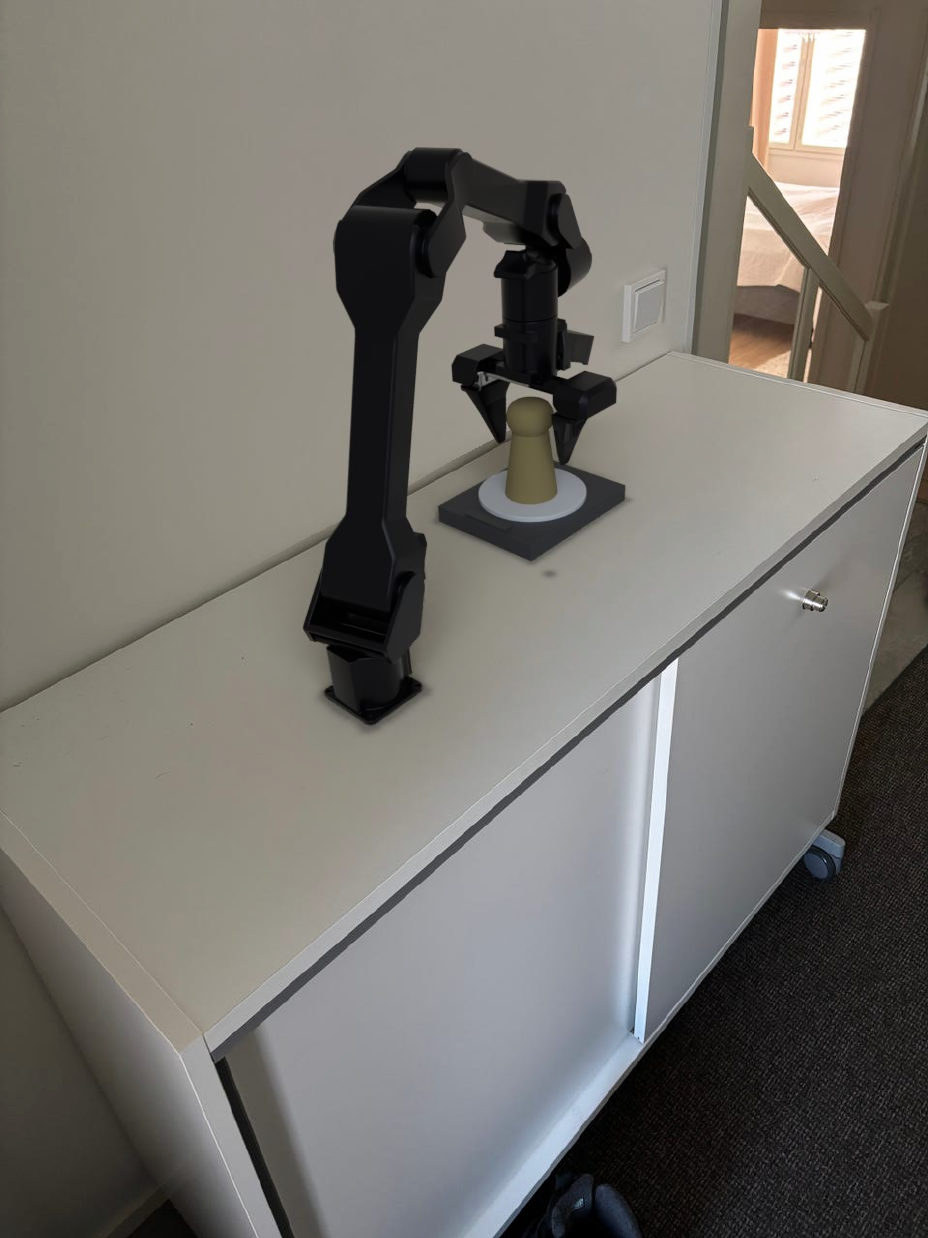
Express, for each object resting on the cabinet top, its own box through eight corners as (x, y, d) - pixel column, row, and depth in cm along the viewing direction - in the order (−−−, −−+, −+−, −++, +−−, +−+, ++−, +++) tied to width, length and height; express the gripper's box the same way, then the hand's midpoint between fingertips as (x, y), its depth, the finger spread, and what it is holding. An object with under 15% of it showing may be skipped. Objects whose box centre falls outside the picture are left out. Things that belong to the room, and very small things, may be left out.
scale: (531, 561, 98) (531, 540, 97) (438, 520, 107) (437, 501, 105) (624, 500, 108) (625, 480, 107) (533, 467, 116) (532, 448, 115)
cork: (566, 485, 106) (567, 395, 100) (541, 509, 102) (540, 416, 96) (521, 475, 109) (519, 386, 103) (495, 497, 105) (491, 406, 99)
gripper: (651, 307, 93) (643, 449, 102) (512, 279, 104) (515, 409, 113) (584, 339, 87) (581, 487, 96) (443, 305, 98) (453, 440, 107)
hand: (531, 452), depth 103 cm, fingers open, 9 cm apart
